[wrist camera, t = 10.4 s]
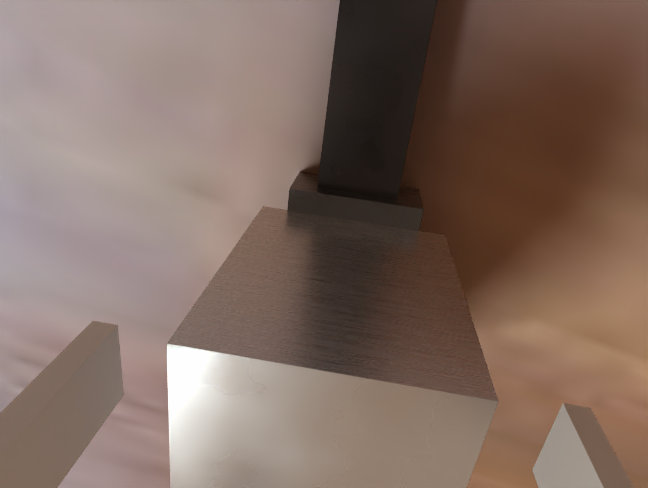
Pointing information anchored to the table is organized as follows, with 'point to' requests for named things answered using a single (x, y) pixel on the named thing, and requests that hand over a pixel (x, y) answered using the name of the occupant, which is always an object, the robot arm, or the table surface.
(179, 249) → the table surface
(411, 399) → the grey rectangular block
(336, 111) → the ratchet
